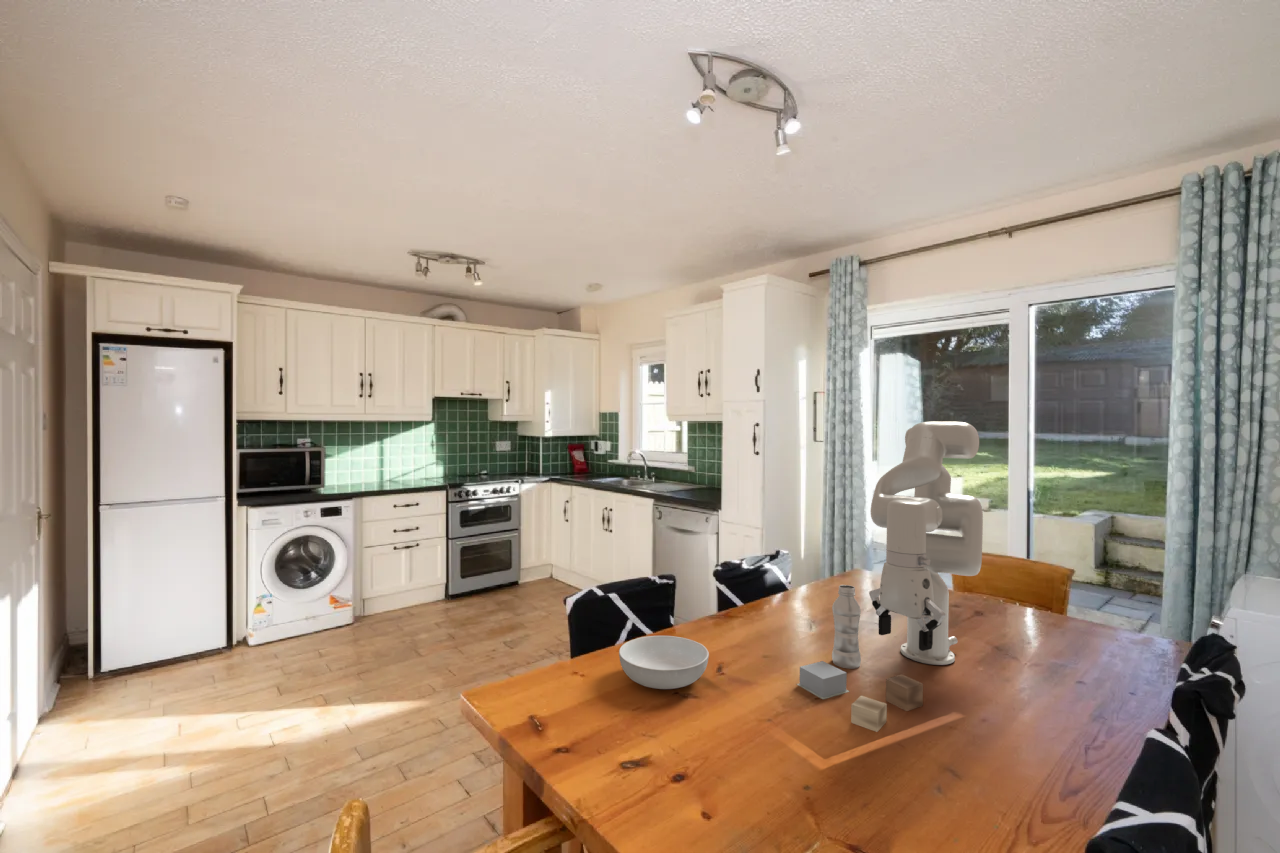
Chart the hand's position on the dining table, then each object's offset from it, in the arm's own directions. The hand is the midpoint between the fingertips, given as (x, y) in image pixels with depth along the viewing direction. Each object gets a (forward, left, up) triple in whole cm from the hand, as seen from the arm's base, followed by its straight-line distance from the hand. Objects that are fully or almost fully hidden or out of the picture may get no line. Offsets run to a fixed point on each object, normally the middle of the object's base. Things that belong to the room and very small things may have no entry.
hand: (904, 641), depth 121 cm
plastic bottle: (-5, -20, -15) cm, 26 cm away
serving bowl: (+38, -35, -15) cm, 54 cm away
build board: (+10, -13, -14) cm, 22 cm away
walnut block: (0, 0, -15) cm, 15 cm away
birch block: (+13, +2, -15) cm, 19 cm away
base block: (+10, -13, -13) cm, 21 cm away
